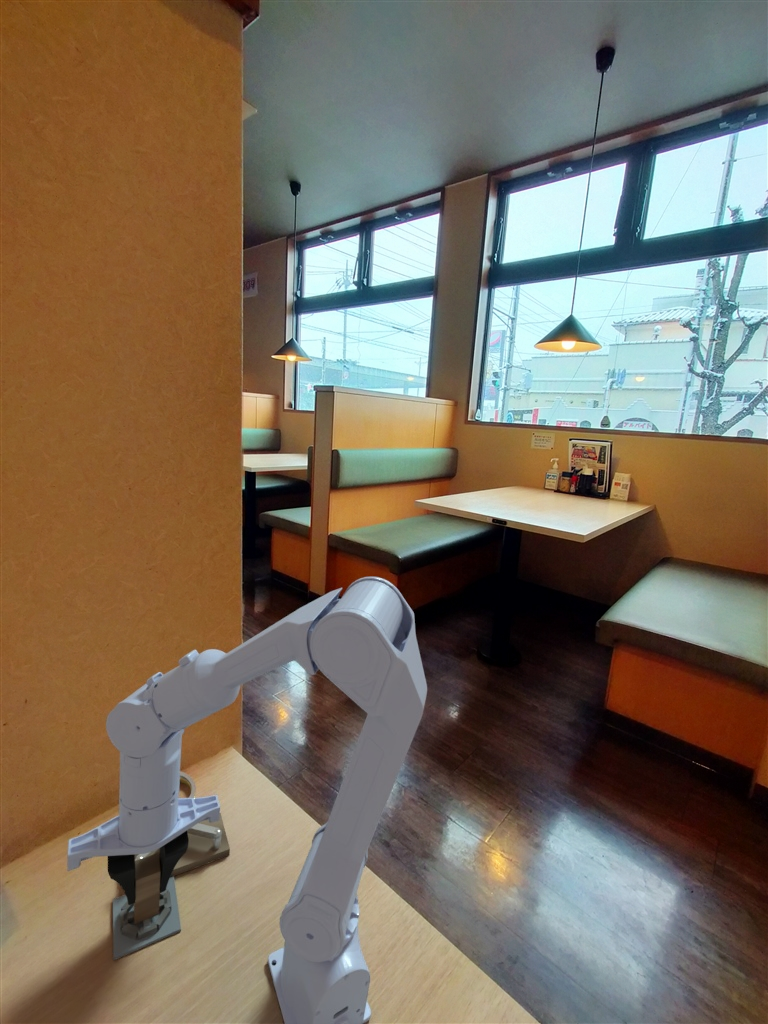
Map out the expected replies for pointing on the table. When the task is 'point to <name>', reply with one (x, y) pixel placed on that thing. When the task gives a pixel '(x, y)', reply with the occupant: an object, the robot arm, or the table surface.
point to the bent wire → (199, 831)
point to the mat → (128, 945)
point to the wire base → (201, 850)
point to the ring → (188, 783)
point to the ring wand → (146, 900)
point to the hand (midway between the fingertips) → (146, 889)
